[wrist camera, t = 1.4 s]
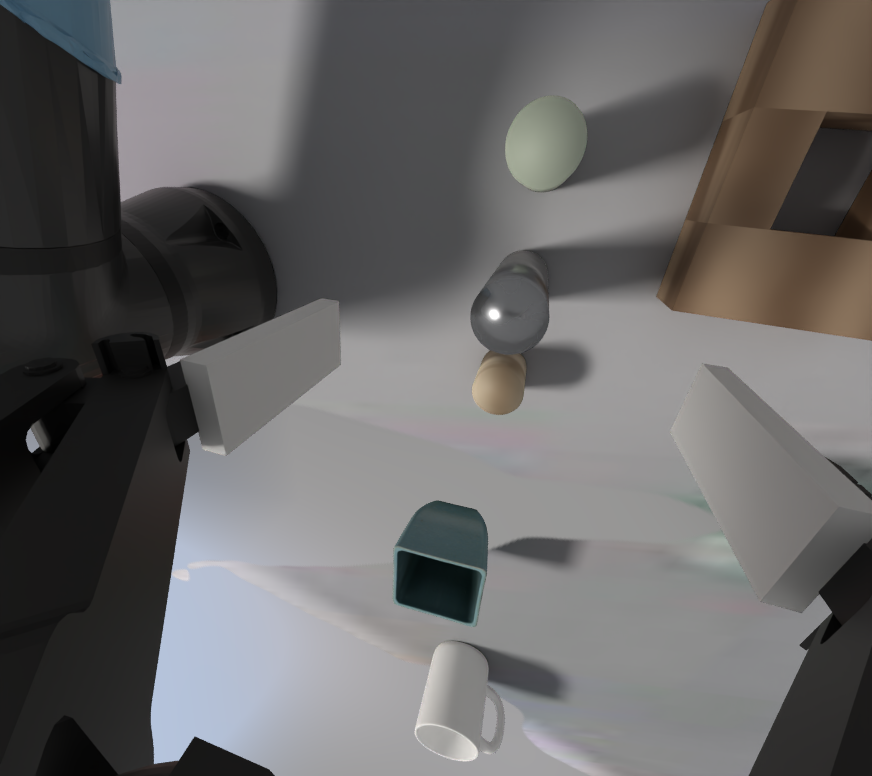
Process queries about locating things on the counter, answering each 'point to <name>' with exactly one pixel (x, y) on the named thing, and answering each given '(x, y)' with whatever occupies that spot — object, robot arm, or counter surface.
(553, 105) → the medium pin
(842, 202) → the counter surface
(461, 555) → the flower pot
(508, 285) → the long pin
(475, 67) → the counter surface
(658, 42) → the counter surface
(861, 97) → the hole board
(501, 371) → the short pin
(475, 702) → the cup
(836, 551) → the robot arm
